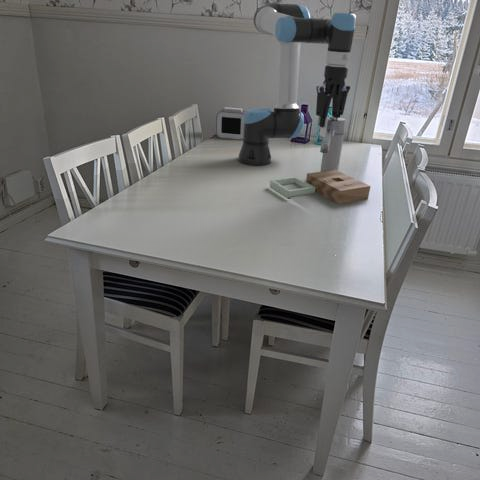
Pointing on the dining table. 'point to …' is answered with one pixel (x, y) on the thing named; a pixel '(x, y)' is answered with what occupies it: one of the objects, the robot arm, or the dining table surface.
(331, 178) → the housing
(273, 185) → the tray
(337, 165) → the water bottle
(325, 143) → the t key
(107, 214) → the dining table surface
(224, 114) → the grey monitor with handle
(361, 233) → the dining table surface
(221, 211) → the dining table surface
